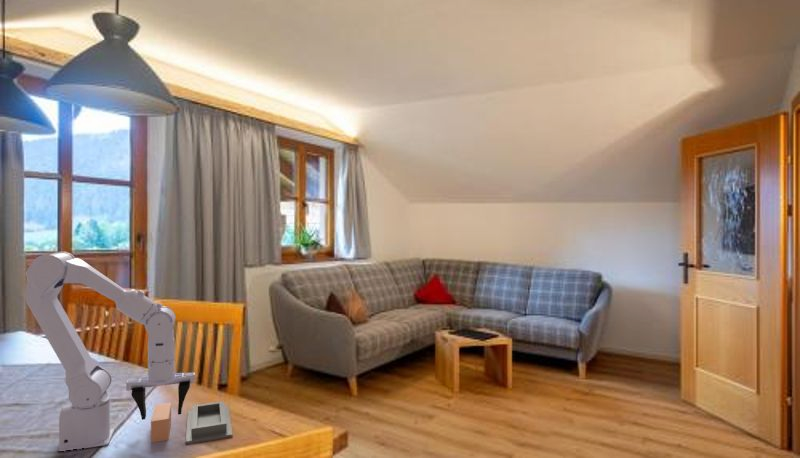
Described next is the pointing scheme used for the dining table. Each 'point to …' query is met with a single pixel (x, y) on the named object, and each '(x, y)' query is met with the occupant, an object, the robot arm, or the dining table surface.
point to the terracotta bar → (161, 422)
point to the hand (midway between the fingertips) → (162, 415)
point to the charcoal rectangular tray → (208, 422)
